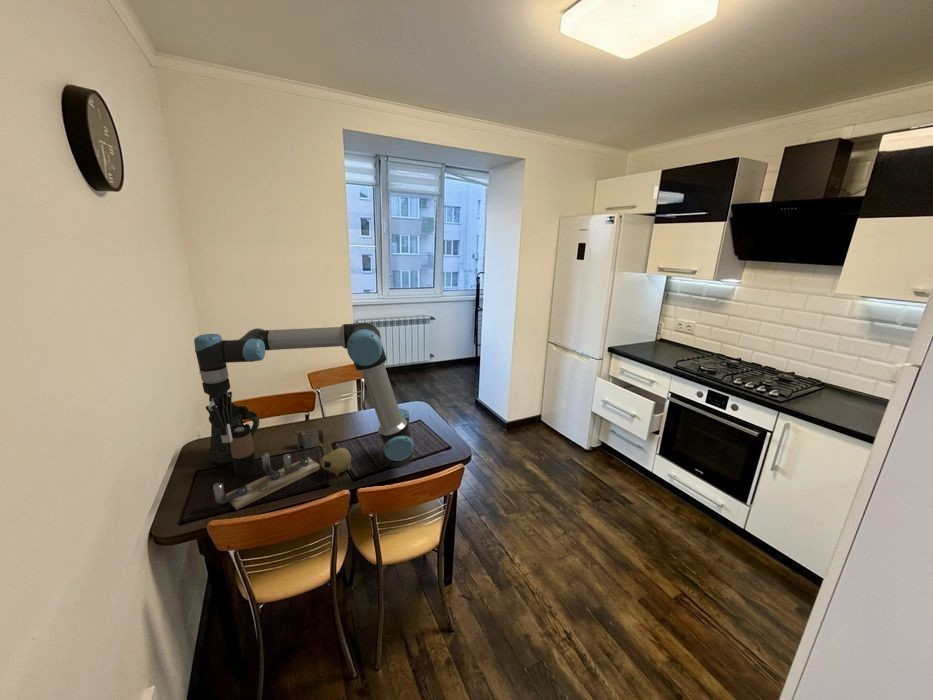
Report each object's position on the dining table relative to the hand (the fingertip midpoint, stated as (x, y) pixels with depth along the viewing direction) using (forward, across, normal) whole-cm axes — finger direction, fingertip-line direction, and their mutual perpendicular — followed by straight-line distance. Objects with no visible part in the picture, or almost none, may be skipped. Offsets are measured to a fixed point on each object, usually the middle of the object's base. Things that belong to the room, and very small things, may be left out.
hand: (227, 441), depth 129 cm
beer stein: (+23, -27, -12) cm, 38 cm away
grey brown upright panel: (+24, -33, +18) cm, 45 cm away
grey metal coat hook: (+20, +4, 0) cm, 21 cm away
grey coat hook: (+21, -12, +18) cm, 30 cm away
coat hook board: (+23, -6, +11) cm, 27 cm away
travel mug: (+23, -15, -3) cm, 28 cm away
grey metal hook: (+21, -9, +9) cm, 24 cm away
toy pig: (+24, -12, +33) cm, 43 cm away
